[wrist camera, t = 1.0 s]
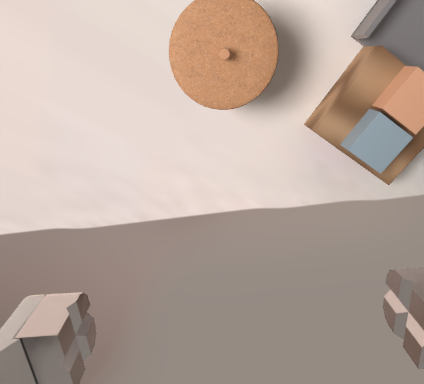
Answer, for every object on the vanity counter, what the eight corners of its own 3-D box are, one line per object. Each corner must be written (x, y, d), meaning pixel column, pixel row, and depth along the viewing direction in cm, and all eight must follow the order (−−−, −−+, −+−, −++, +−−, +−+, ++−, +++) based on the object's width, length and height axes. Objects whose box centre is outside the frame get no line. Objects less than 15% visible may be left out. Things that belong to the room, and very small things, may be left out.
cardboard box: (363, 46, 40) (381, 45, 35) (433, 104, 42) (458, 109, 38) (304, 124, 43) (314, 131, 39) (372, 173, 46) (388, 185, 41)
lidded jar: (253, 108, 42) (264, 122, 34) (169, 90, 41) (158, 99, 33) (277, 15, 38) (297, 3, 30) (184, -8, 37) (177, -27, 29)
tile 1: (404, 65, 36) (417, 66, 34) (436, 92, 37) (451, 94, 35) (372, 105, 38) (382, 108, 35) (403, 129, 39) (415, 134, 37)
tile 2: (369, 108, 38) (379, 111, 36) (401, 132, 39) (413, 137, 37) (339, 144, 39) (347, 150, 37) (370, 167, 40) (380, 173, 38)
